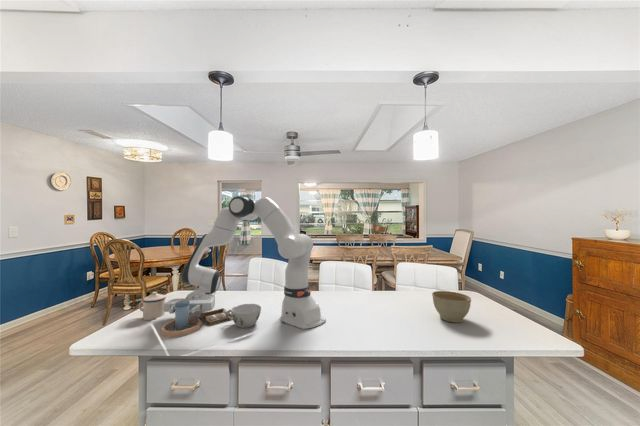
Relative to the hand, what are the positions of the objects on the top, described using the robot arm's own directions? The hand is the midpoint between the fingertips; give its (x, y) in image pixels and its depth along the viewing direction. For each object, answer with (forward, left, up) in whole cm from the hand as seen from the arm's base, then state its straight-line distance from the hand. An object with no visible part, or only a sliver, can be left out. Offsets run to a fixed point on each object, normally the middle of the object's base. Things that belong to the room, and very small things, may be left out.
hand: (181, 311), depth 102 cm
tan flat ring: (+1, -1, -8) cm, 8 cm away
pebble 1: (-1, -13, -7) cm, 15 cm away
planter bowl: (-69, -98, -8) cm, 120 cm away
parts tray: (+3, -16, -8) cm, 18 cm away
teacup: (-12, -22, -8) cm, 26 cm away
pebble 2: (-1, -17, -7) cm, 18 cm away
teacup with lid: (+27, +6, -8) cm, 29 cm away
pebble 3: (+1, -19, -7) cm, 20 cm away
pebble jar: (+1, -1, -8) cm, 8 cm away
